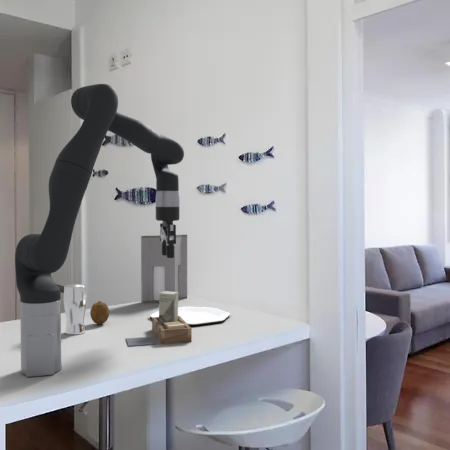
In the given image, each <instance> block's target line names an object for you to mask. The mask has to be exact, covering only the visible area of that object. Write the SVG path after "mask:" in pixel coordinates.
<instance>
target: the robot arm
mask: <svg viewBox="0 0 450 450" xmlns="http://www.w3.org/2000/svg"><path fill="white" fill-rule="evenodd" d="M70 105H71V108H72V111H73V113H74V114H75V115H76V116H77V117H78V118H79V119H81V120H83V121H82V123H81V126H80V127H79V129H78V130H77V132H76V133H75V134H74V136H72V137H71V139H70V140H69V141H68V142H67V144H66V145H65V146H64V147H63V148H62V150H61V151H60V152H59V153H58V156H57V157H56V159H55V162H54V165H53V167H52V170H51V172H50V176H49V180H48V197H49V198H48V199H49V210H48V211H49V212H48V215H47V218H46V221H45V224H44V226H43V229H42V231H41V233H30V234H27V235H24V236H23V237H22V238H21V239H20V240H19V241H18V243H17V245H16V247H15V253H14V264H15V265H14V266H15V281H16V283H15V284H16V288H17V291H18V295H19V298H20V299H19V300H20V301H19V302H20V304H19V305H20V317H19V318H20V373H21V374H22V375H24V376H25V377H26V378H29V377H40V376H41V377H42V376H51V375H52V376H53V375H55V374H56V373H57V372H59V371H61V369H62V316H61V315H62V300H61V299H62V298H61V297H62V295H61V294H62V293H61V292H62V291H61V288H60V287H59V286H58V285H57V284H56V283H55V281H54V280H53V277H52V274H53V273H56V272H57V271H59V270H61V268H62V267H63V266H64V264H65V262H66V260H67V257H68V253H69V250H70V246H71V241H72V237H73V232H74V227H75V224H76V220H77V217H78V215H79V211H80V208H81V205H82V202H83V199H84V196H85V195H86V194H85V193H86V191H87V188H88V186H89V184H90V180H91V177H92V175H93V170H94V167H95V163H96V161H97V159H98V156H99V154H100V151H101V148H102V145H103V143H104V140H105V138H106V135H107V133H108V132H110V133H113V134H114V135H115V136H118V137H120V138H122V139H123V140H125V141H126V142H128V143H131V144H132V145H133V146H135V147H137V148H138V149H139V150H141V151H143V152H144V153H146V154H150V158H151V164H152V167H153V171H154V175H155V179H156V183H155V184H156V186H155V187H156V190H155V220H156V221H160V222H161V223H160V224H159V228H160V229H159V230H160V231H159V235H160V241H161V244H162V255H167V258H173V257H174V246H175V244H176V235H177V234H176V232H177V225H176V224H174V222H175V221H176V222H177V221H179V220H180V195H179V193H180V192H179V191H180V190H179V187H180V186H179V185H180V184H179V182H180V181H179V175H178V173H175V172H173V171H170V168H169V166H170V165H177V164H178V165H179V163H181V162H182V161H183V160H184V157H185V151H184V147H183V146H182V144H180V143H179V142H178V141H177V140H175V139H173V138H171V137H168V136H166V135H163V134H161V133H158V131H156V130H154V129H153V128H152V127H151V126H149V125H147V124H146V123H144V122H142V121H140V120H138V119H135V118H133V117H130V116H127V115H126V114H125V115H124V114H122V113H120V112H118V107H119V98H118V94H117V91H116V90H115V88H114V87H113V86H111V85H110V84H107V83H96V84H89V85H86V86H81V87H79V88H76V90H74V92H73V93H72V95H71V98H70Z"/></svg>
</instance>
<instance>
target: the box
mask: <svg viewBox="0 0 450 450" xmlns="http://www.w3.org/2000/svg"><path fill="white" fill-rule="evenodd" d="M158 305H159V306H158V311H159V323H160V324H161V326H162V327H163V328H164V323H168V322H178V307H179V301H178V292H171V291H164V292H161V293H160V295H159V303H158Z"/></svg>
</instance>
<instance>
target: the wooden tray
mask: <svg viewBox="0 0 450 450" xmlns="http://www.w3.org/2000/svg"><path fill="white" fill-rule="evenodd" d="M178 321H179V322H181V323H182V324H184V325H185V328H177V329H164V328H163V327H162V326H161V324H160V323H159V317H152V318H151V330H152V332H153V334H154V335H155V336H156V337H157V339H158V341H159V342H160V344H161V345H167V344H179V343H192V341H193V340H192V331H193V330H192V329H193V328H192V327H191V325H188V324H187V323H186V322H185V321H184V320H183V319H182V318H181V317H180V316H178Z"/></svg>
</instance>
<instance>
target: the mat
mask: <svg viewBox="0 0 450 450" xmlns="http://www.w3.org/2000/svg"><path fill="white" fill-rule="evenodd" d="M125 341H126V343H127V347H140V346H154V345H157V342H156V341H155V339H154V337H153V336H143V337H142V336H140V337H129V338H127V337H126V338H125Z"/></svg>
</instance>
